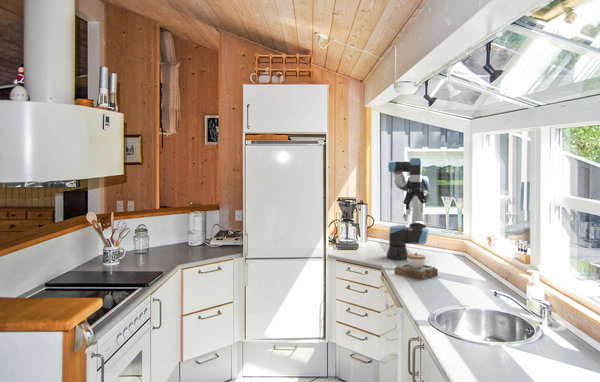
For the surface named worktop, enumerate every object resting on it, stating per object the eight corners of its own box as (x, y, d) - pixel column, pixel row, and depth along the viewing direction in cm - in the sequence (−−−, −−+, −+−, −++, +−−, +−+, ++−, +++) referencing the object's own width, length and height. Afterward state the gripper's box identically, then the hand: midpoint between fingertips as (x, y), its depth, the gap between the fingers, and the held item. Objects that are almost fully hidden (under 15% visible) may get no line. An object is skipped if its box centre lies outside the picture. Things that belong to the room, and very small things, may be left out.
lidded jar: (425, 270, 254) (426, 254, 254) (407, 269, 256) (407, 254, 256) (424, 266, 265) (424, 251, 264) (406, 265, 267) (406, 250, 266)
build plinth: (413, 269, 273) (413, 261, 273) (437, 275, 259) (437, 267, 259) (394, 273, 263) (394, 265, 263) (418, 280, 248) (418, 271, 248)
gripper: (422, 180, 290) (422, 212, 291) (398, 181, 275) (397, 214, 277) (432, 181, 284) (431, 212, 285) (407, 182, 269) (407, 215, 271)
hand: (415, 213), depth 281 cm, fingers open, 13 cm apart
